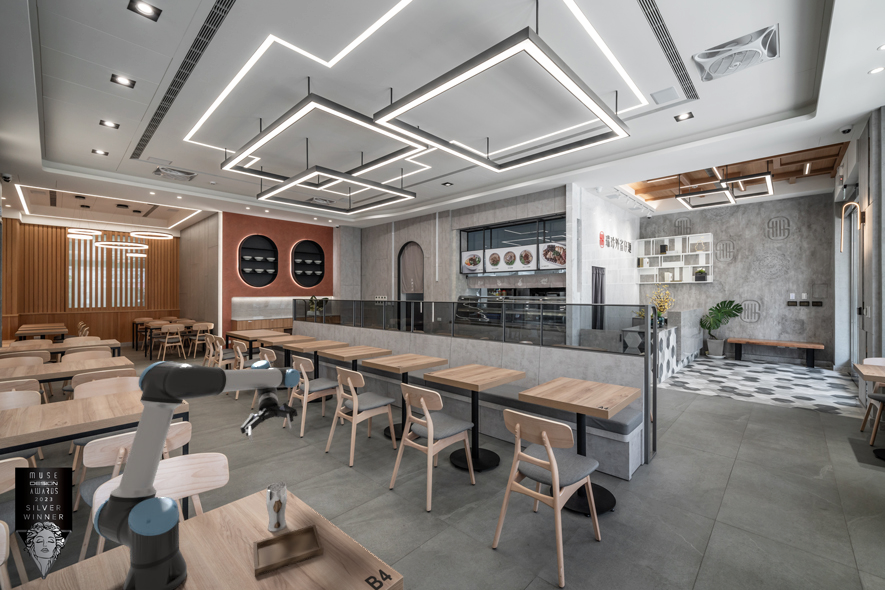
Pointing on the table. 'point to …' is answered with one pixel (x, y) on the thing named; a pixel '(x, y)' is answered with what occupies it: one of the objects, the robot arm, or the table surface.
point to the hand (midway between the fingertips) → (270, 431)
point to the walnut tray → (286, 549)
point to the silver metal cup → (276, 505)
